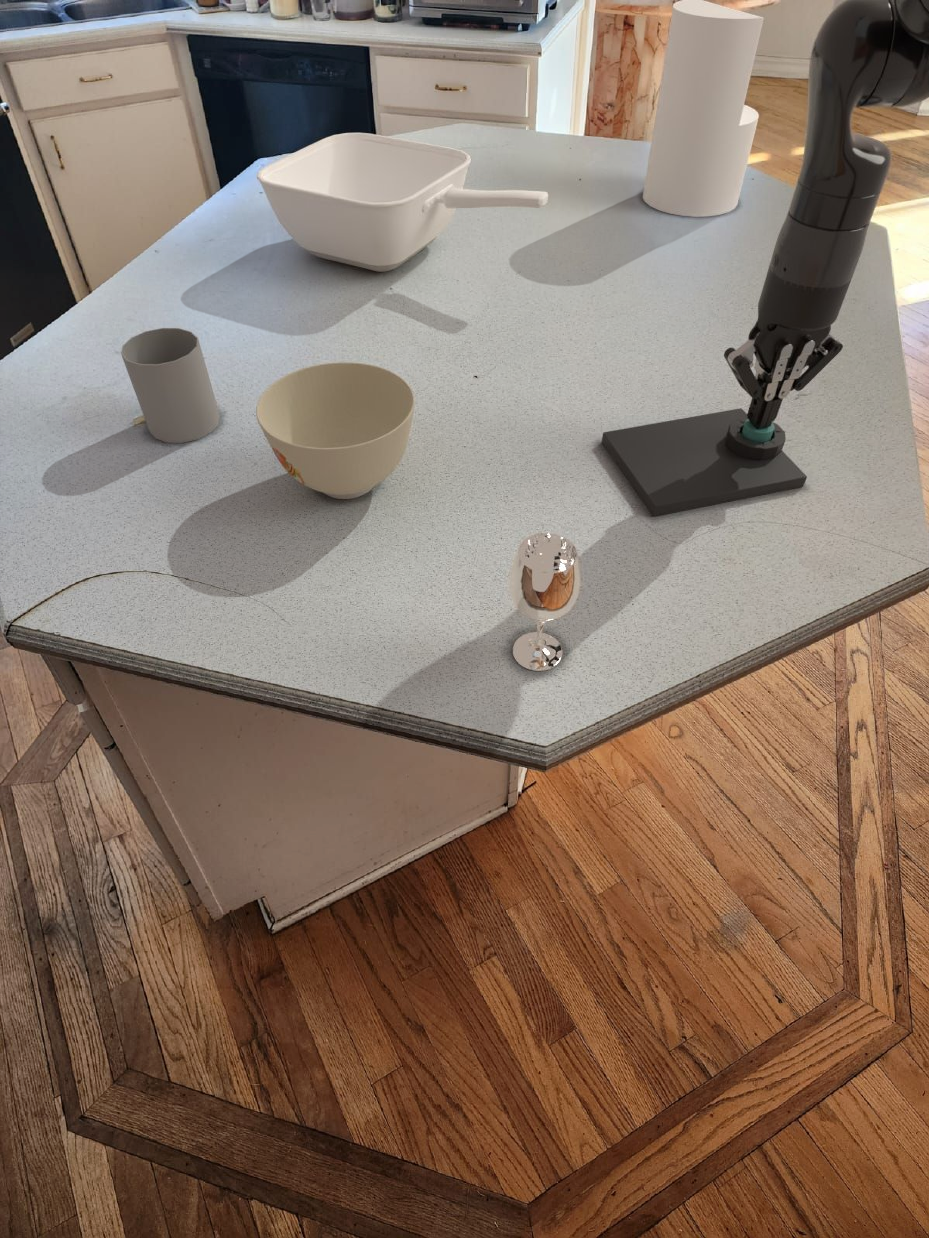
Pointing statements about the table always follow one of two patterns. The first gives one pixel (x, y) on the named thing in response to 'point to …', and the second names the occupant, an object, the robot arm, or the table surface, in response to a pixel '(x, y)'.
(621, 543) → the table surface
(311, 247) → the pan
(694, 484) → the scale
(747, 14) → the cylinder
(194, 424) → the cup
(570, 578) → the wineglass
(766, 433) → the power button
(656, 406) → the table surface
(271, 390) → the bowl
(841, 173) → the robot arm
